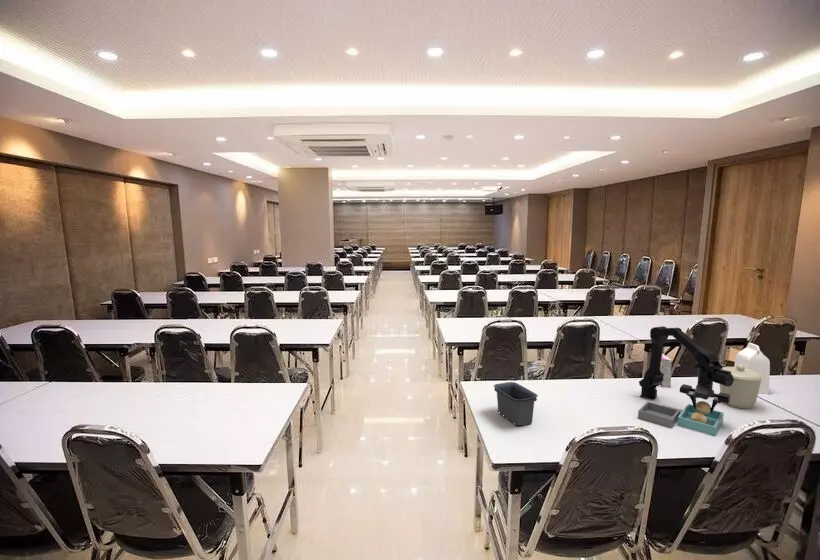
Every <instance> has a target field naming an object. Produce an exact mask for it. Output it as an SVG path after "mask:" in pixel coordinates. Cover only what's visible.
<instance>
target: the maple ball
mask: <svg viewBox="0 0 820 560" xmlns="http://www.w3.org/2000/svg"><path fill="white" fill-rule="evenodd" d="M695 407H696V410H697V411H698V412H699V413H702V414H709V413H710V412H711V407H712V405H710V404H709V402H707V401H705V400H704V401H703V400H700V401H697V402H696V406H695Z"/></svg>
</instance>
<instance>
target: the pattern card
mask: <svg viewBox="0 0 820 560" xmlns="http://www.w3.org/2000/svg"><path fill="white" fill-rule="evenodd" d="M661 405H662V406H666V407H670V408H674V409H678V410H680V414H681V412H682V411H683V410H684V409H682V408H677V407H674V406H669V405H666V404H661Z"/></svg>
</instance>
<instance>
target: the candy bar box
mask: <svg viewBox="0 0 820 560" xmlns="http://www.w3.org/2000/svg"><path fill="white" fill-rule="evenodd" d="M672 365H673V359H671V358H670V357H668V356H667V355H666V354H664V353H662V358H661V365H660V371H661V373H663V374H664V377H663V381H662V383H660V384H659V386H660V385H661V386H662V387H661V386H660V387H661V388H671V381H672V368H673V367H672Z"/></svg>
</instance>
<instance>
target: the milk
mask: <svg viewBox="0 0 820 560" xmlns="http://www.w3.org/2000/svg"><path fill="white" fill-rule="evenodd" d="M739 364H740V365H743V366H744V367H745V369H749V370H752V371H755V372H757V373H759V374H760V375H762V376H763V380H761V384H760V388H759V392H758V395H770V373H771V361H770V359H769V358H768V357H767V356H766V355H764V353H763V352H762V351H761V349H760V346H759V345H757V344H755V343H752V342H748V344H747V346H746V347H745V348H743V349H741V350H740V351H739V352H737V353H736V354H735V360H734V366H733V367H736V365H739Z"/></svg>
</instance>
